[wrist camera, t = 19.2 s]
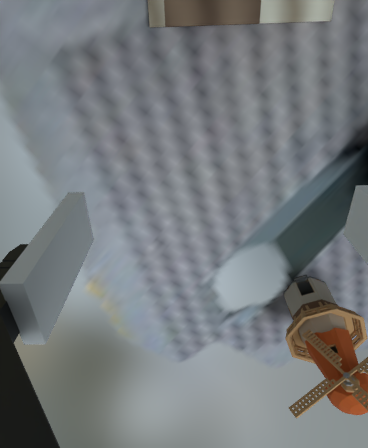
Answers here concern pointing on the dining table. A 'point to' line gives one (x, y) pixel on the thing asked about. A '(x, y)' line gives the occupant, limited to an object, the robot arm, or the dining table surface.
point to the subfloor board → (236, 12)
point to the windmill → (327, 345)
